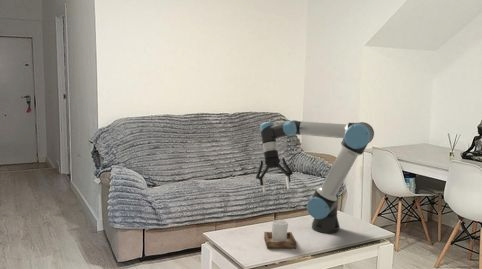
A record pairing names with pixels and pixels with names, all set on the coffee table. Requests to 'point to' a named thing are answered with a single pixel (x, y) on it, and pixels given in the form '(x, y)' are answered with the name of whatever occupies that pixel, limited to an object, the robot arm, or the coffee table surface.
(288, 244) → the tray
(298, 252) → the coffee table surface
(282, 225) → the white cup
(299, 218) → the coffee table surface
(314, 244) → the coffee table surface
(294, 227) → the coffee table surface
